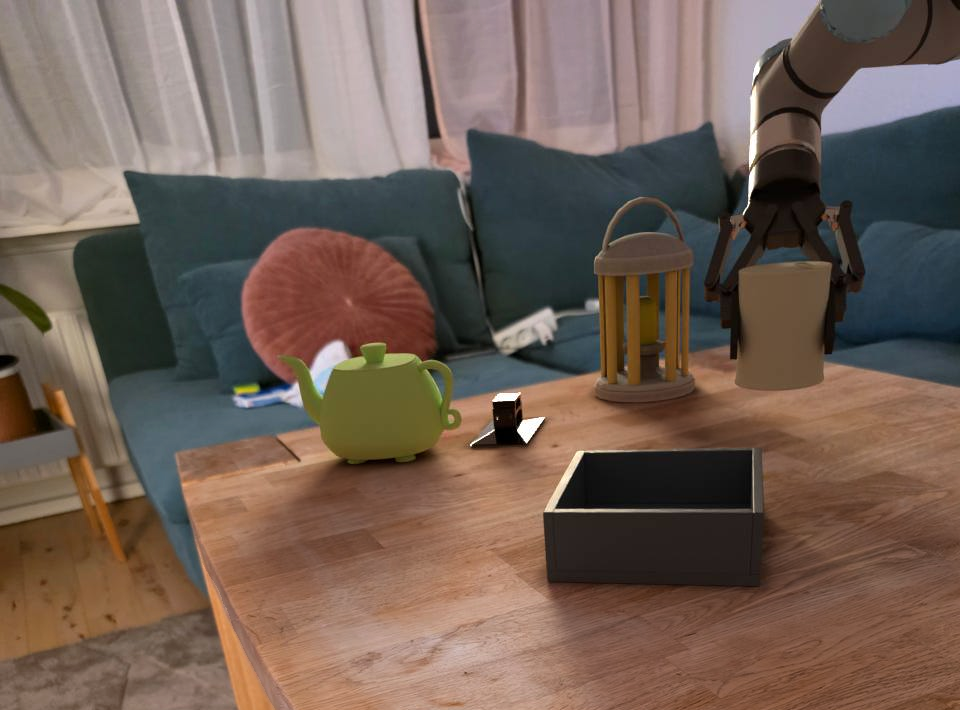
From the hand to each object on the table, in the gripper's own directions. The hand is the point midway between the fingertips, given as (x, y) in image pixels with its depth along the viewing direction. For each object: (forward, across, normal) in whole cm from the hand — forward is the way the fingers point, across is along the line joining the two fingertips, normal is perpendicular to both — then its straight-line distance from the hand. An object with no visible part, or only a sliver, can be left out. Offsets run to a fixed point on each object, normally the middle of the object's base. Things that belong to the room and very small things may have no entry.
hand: (781, 349), depth 92 cm
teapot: (+6, +47, -9) cm, 48 cm away
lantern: (-15, +17, -30) cm, 37 cm away
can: (+1, 0, -5) cm, 5 cm away
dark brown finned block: (0, +32, -15) cm, 36 cm away
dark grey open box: (+26, +10, +11) cm, 30 cm away
